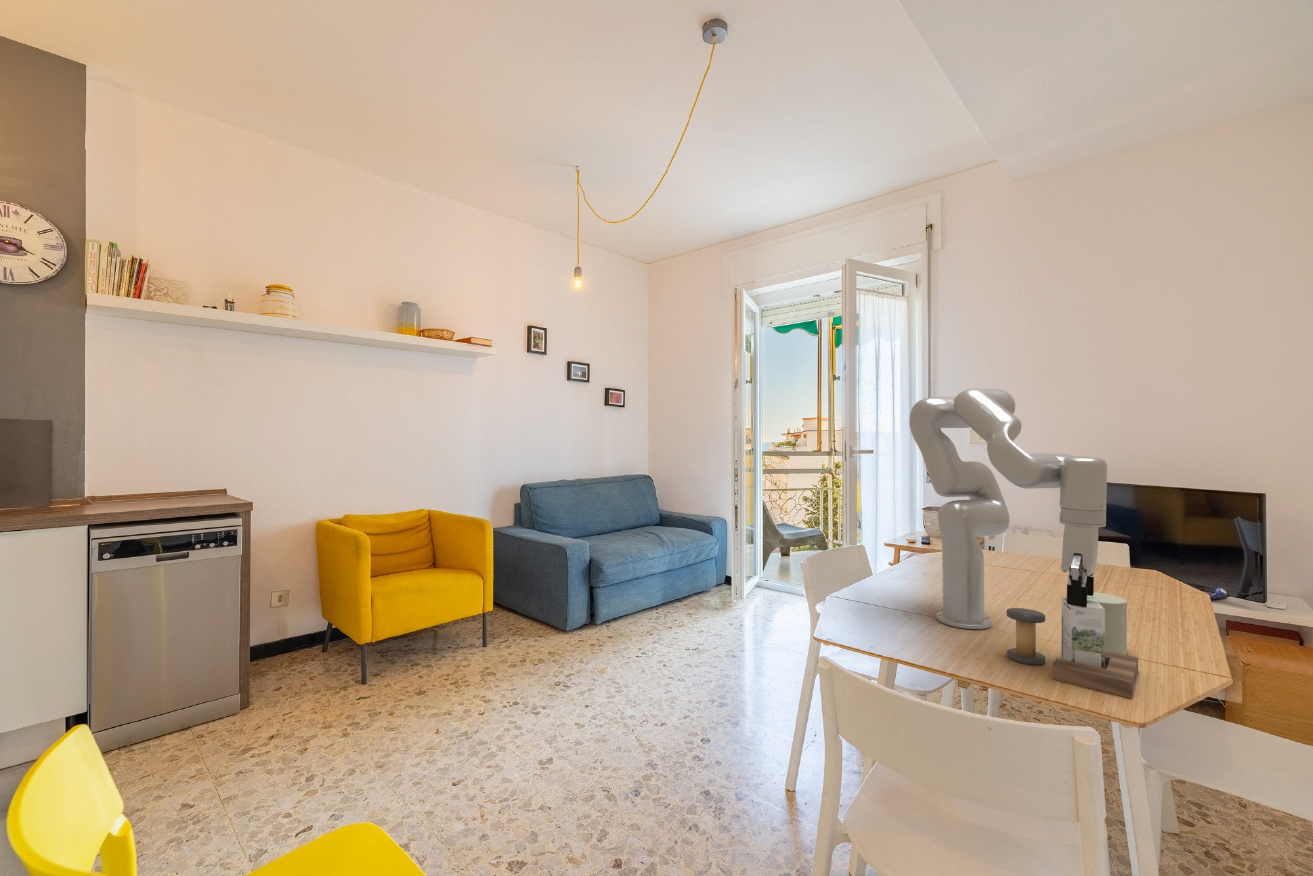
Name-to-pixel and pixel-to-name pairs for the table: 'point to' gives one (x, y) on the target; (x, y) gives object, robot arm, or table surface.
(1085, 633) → the syrup box
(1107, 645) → the can
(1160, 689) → the table surface
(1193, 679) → the table surface
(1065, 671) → the notched board
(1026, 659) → the gray-flanged bobbin
